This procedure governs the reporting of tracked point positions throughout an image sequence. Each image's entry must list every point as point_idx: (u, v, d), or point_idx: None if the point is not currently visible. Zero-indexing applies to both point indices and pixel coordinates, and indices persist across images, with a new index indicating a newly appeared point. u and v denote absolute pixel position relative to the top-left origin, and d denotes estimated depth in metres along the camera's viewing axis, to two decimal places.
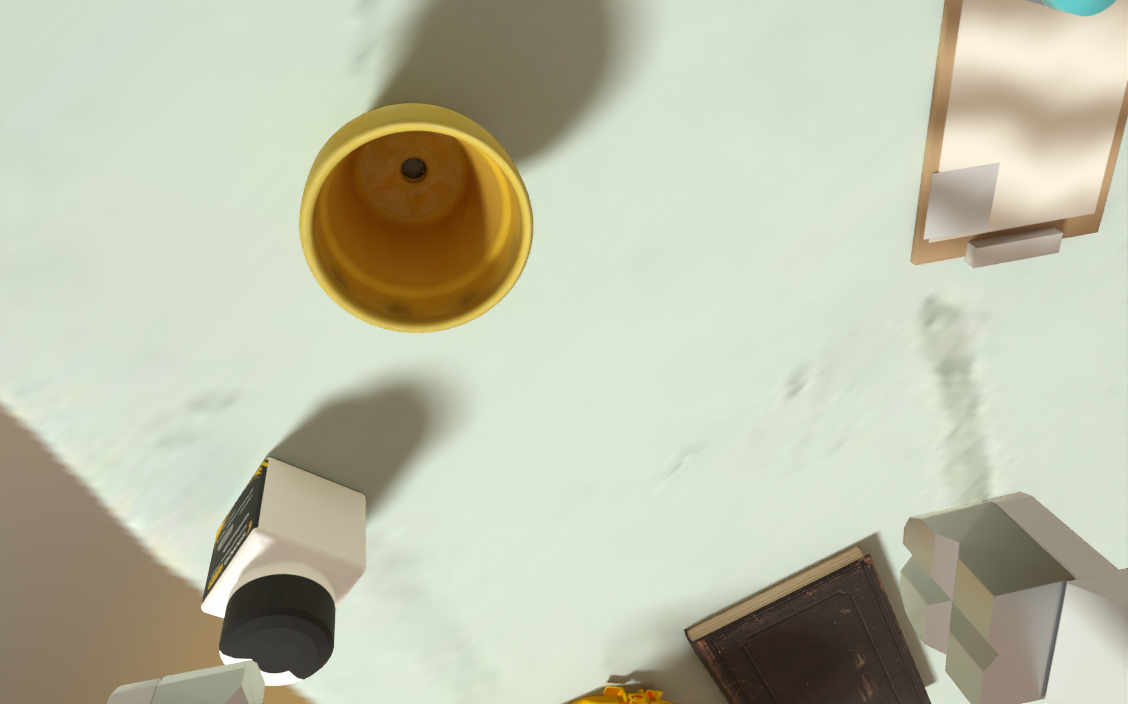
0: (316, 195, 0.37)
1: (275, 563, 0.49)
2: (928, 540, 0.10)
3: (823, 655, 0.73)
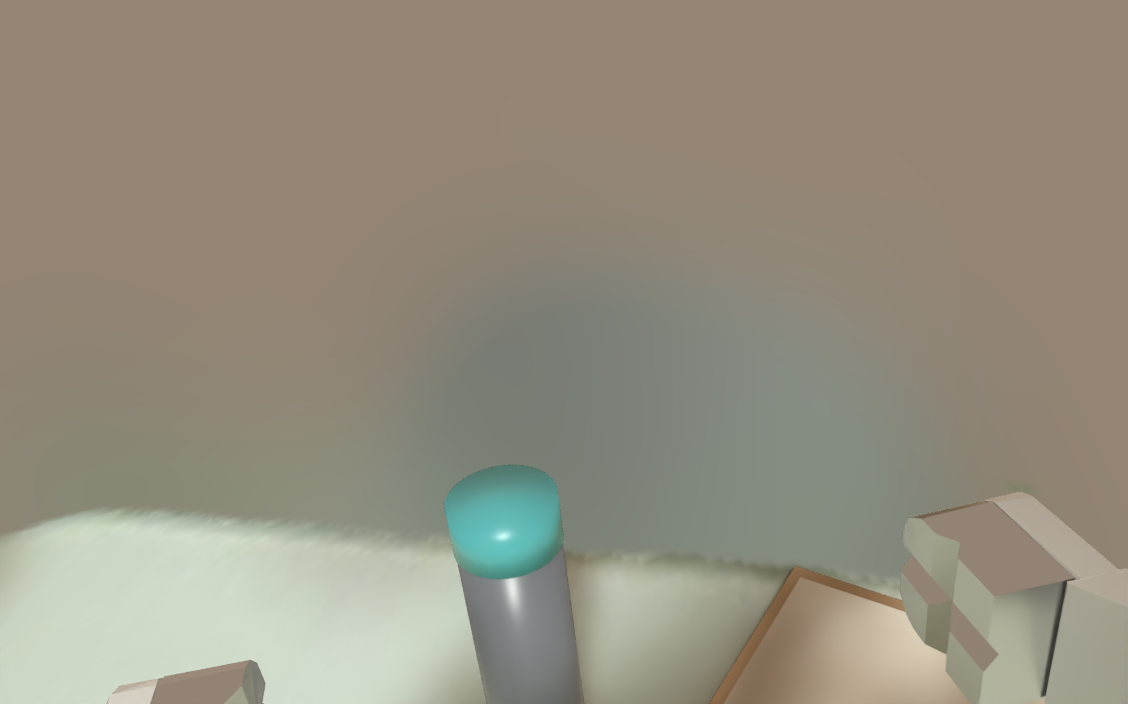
0: None
1: None
2: (928, 541, 0.10)
3: None
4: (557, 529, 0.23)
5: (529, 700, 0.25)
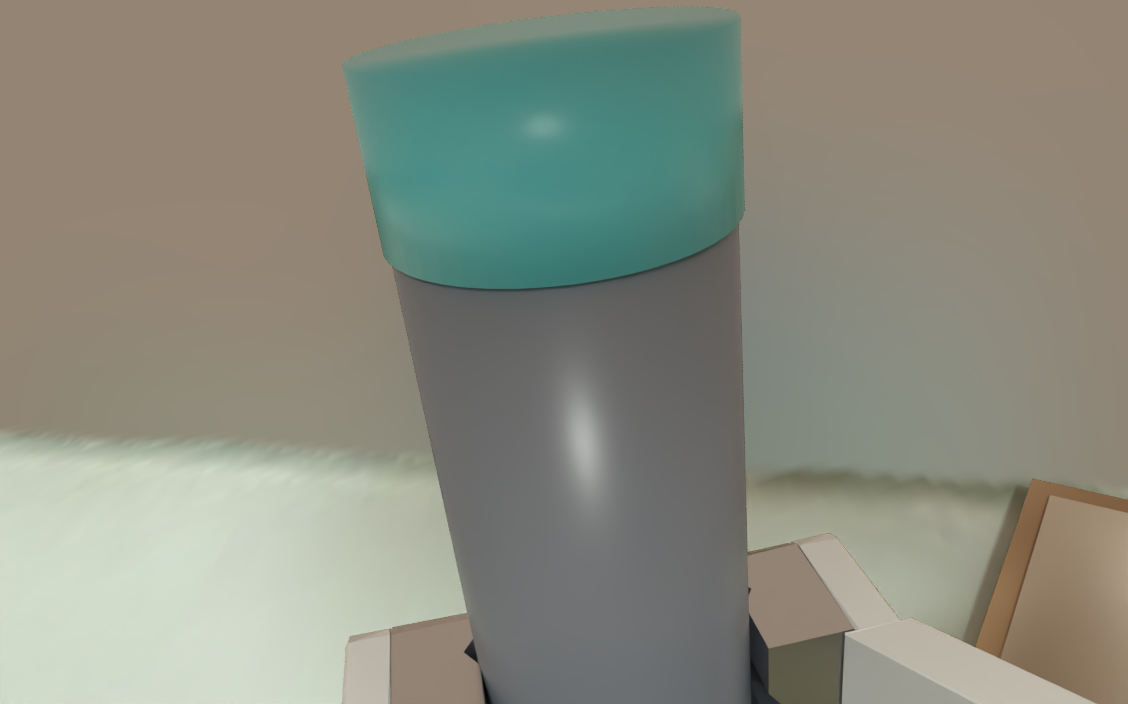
0: None
1: None
2: None
3: None
4: (740, 134, 0.07)
5: None
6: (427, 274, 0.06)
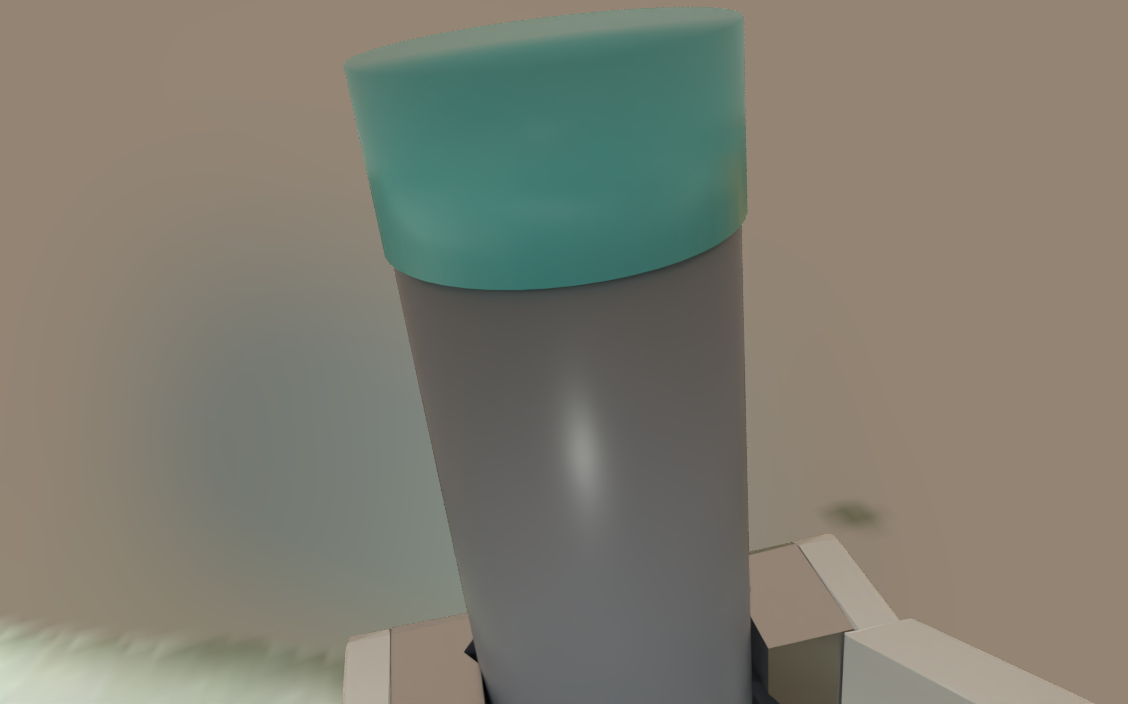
0: None
1: None
2: None
3: None
4: (743, 135, 0.07)
5: None
6: (429, 275, 0.06)
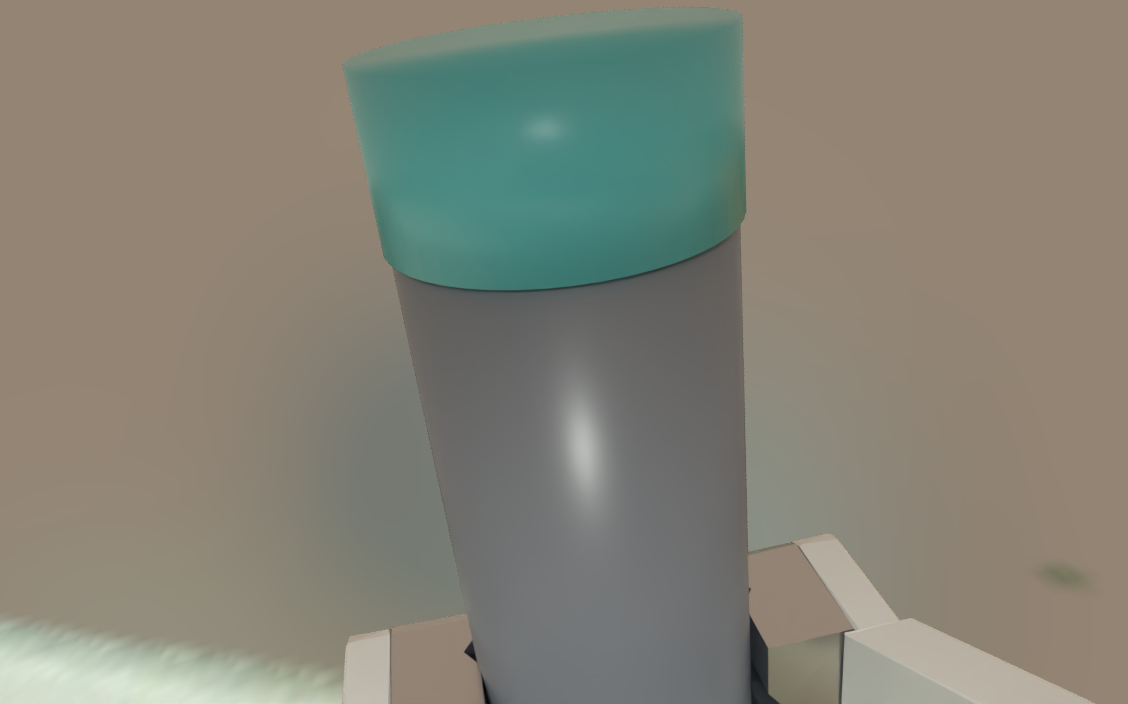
0: None
1: None
2: None
3: None
4: (741, 135, 0.07)
5: None
6: (427, 275, 0.06)
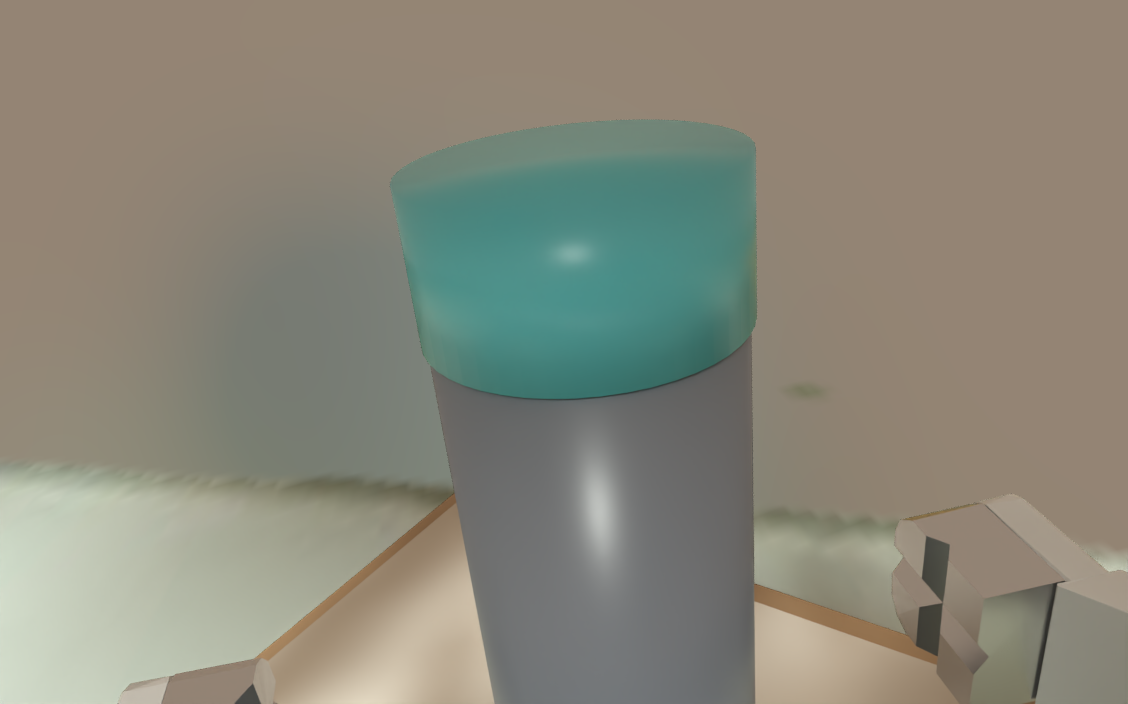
0: None
1: None
2: (919, 543, 0.10)
3: None
4: (754, 253, 0.07)
5: None
6: (466, 380, 0.07)
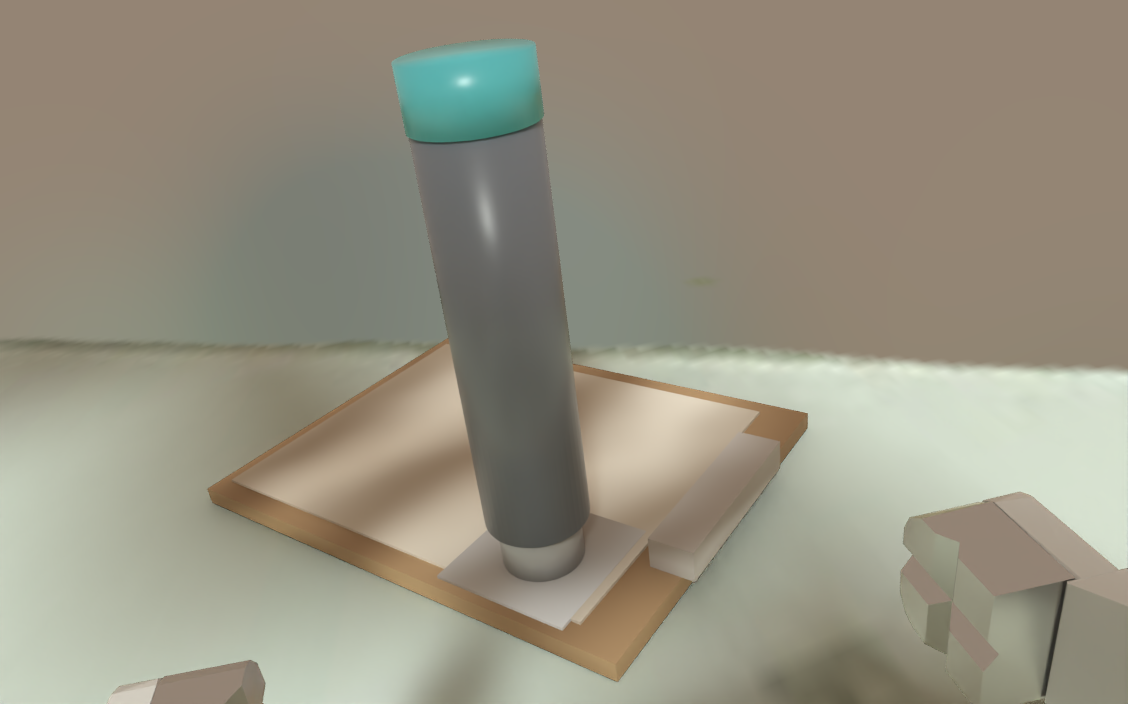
0: None
1: None
2: (928, 541, 0.10)
3: None
4: (535, 89, 0.18)
5: (505, 335, 0.20)
6: (423, 139, 0.18)
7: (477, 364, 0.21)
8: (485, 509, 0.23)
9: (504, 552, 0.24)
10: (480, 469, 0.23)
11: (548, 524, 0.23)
